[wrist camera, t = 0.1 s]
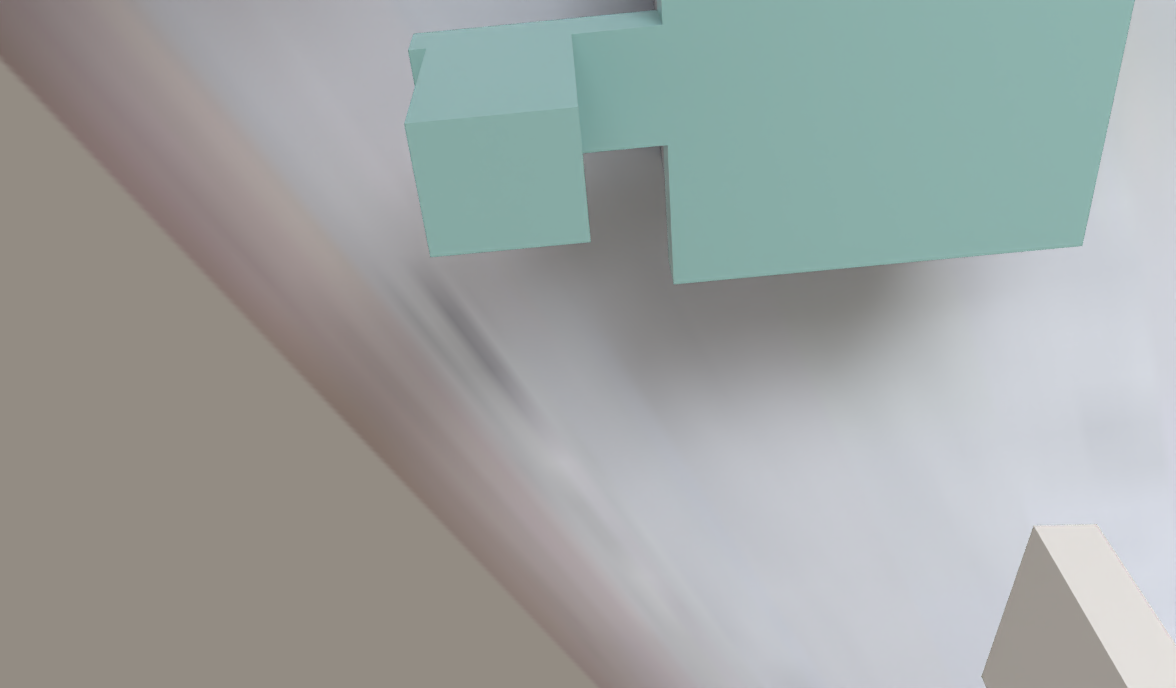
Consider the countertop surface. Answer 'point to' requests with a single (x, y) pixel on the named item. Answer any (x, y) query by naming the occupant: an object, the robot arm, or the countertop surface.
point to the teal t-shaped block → (776, 128)
